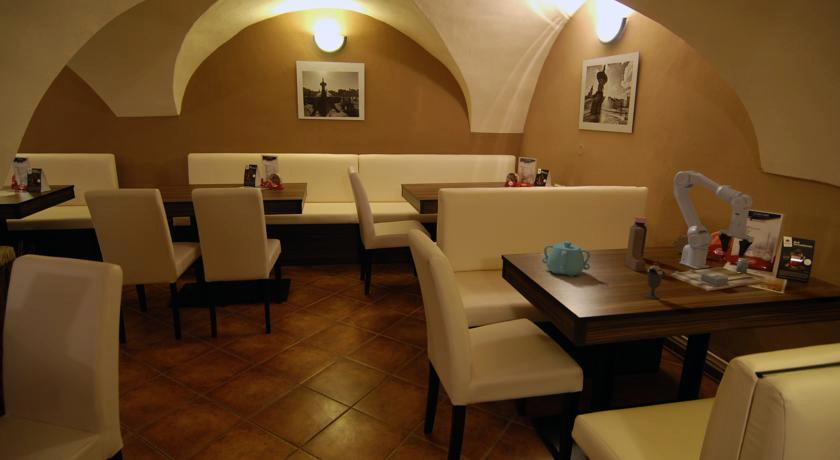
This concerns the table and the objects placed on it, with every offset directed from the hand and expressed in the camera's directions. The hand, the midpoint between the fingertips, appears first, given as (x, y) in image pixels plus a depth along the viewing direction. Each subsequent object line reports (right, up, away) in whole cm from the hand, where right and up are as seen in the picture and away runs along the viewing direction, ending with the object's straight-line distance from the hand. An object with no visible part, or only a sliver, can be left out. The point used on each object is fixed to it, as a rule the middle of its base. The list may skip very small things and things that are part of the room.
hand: (732, 254), depth 207 cm
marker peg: (+8, -8, +6) cm, 13 cm away
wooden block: (-38, -7, +9) cm, 40 cm away
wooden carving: (-2, -2, +31) cm, 31 cm away
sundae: (-47, -15, -25) cm, 55 cm away
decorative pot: (-72, -8, +1) cm, 72 cm away
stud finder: (-15, -11, -12) cm, 22 cm away
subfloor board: (-10, -10, -4) cm, 15 cm away
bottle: (-31, -3, +24) cm, 39 cm away
